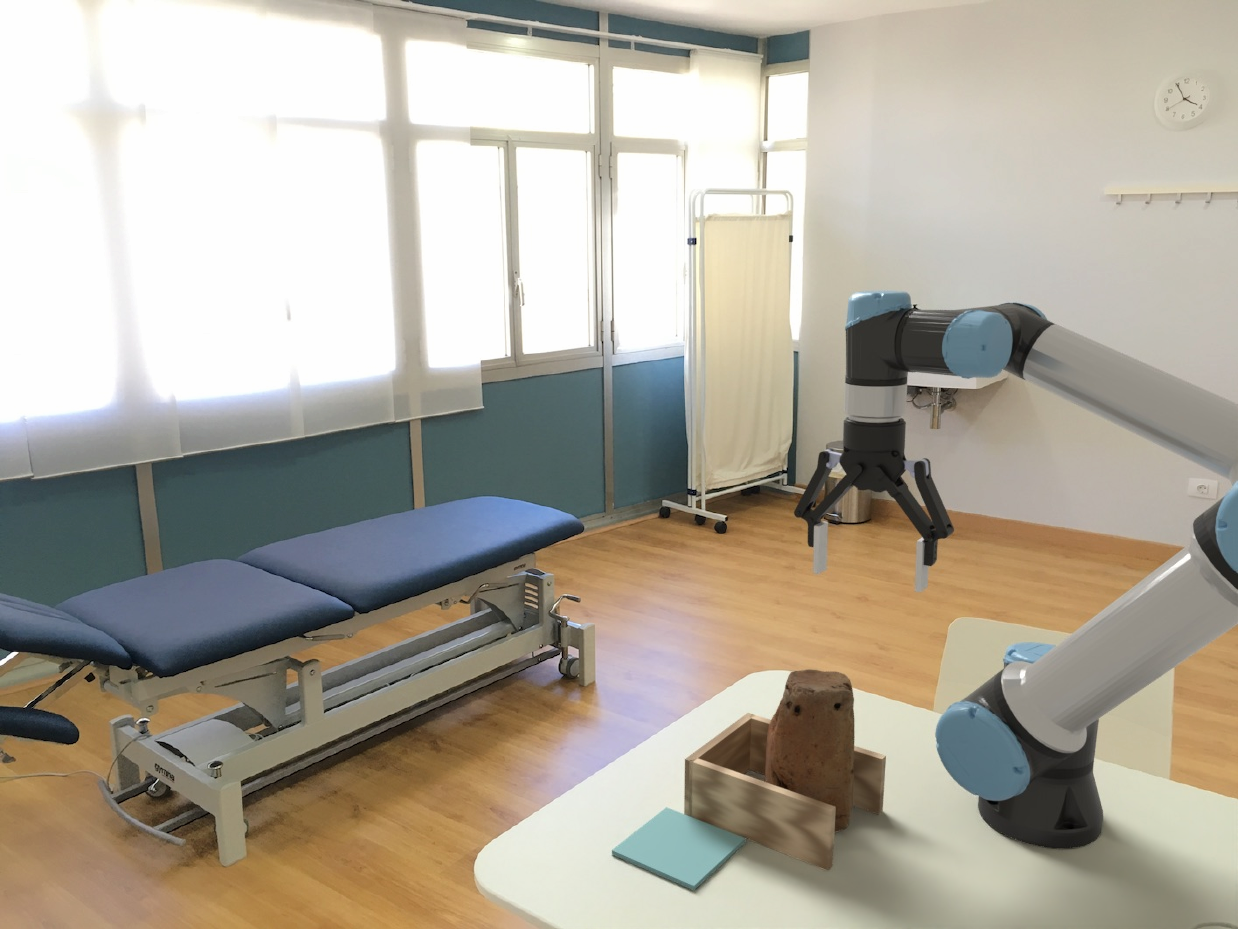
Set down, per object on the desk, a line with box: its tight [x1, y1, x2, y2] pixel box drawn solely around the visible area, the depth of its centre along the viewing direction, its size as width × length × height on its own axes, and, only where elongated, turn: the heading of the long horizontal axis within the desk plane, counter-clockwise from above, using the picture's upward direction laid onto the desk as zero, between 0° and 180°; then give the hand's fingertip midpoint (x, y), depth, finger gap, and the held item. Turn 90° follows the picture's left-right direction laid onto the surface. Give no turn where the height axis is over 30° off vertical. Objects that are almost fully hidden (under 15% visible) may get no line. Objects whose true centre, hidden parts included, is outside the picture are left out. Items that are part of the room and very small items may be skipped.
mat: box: [611, 807, 746, 891], centre depth 129 cm, size 12×12×1 cm
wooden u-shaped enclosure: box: [683, 712, 887, 872], centre depth 136 cm, size 21×16×8 cm
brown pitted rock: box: [764, 669, 855, 833], centre depth 133 cm, size 11×8×20 cm
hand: (869, 580), depth 133 cm, fingers open, 13 cm apart
